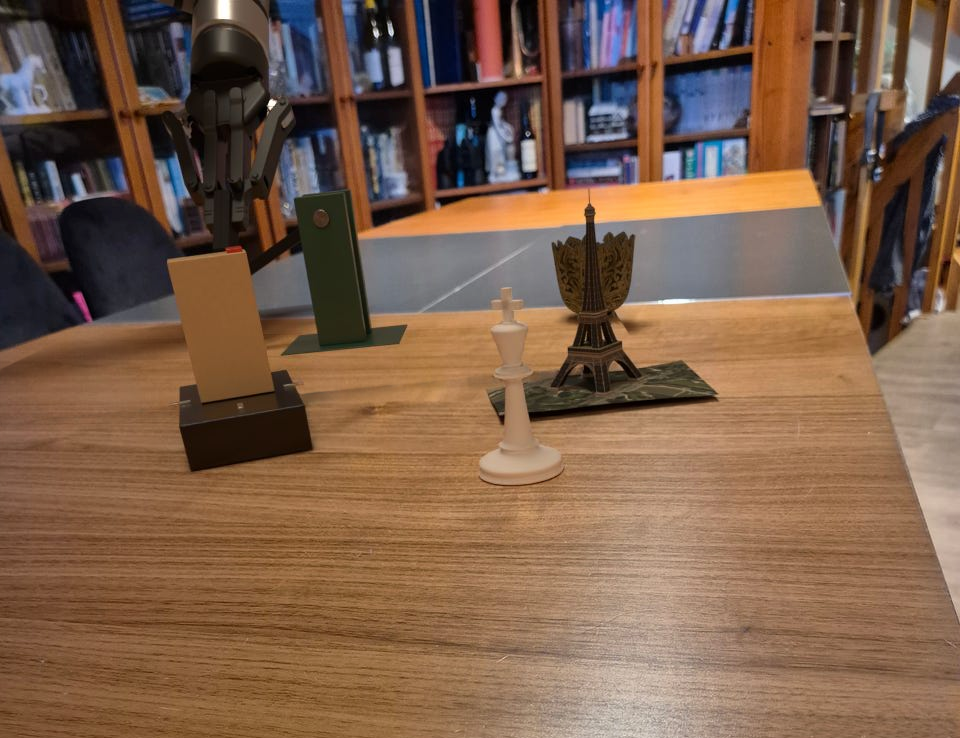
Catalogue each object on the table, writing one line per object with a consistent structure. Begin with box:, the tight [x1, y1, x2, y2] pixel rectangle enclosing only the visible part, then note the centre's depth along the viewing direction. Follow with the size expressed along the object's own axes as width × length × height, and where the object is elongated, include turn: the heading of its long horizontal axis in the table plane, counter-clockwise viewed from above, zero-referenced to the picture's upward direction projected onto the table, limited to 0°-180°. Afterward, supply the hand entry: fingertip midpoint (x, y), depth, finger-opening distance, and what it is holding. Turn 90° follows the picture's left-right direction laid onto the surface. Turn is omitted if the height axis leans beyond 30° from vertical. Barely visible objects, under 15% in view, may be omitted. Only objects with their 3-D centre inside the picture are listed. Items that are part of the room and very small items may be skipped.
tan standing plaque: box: [166, 245, 274, 403], centre depth 62 cm, size 5×2×9 cm, turn 106°
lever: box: [248, 227, 301, 277], centre depth 85 cm, size 13×8×2 cm, turn 89°
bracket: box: [280, 188, 408, 357], centre depth 86 cm, size 11×9×14 cm
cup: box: [551, 230, 636, 322], centre depth 85 cm, size 8×7×8 cm
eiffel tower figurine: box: [486, 187, 720, 417], centre depth 63 cm, size 15×10×13 cm
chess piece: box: [478, 286, 565, 486], centre depth 51 cm, size 5×5×10 cm
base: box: [168, 369, 314, 472], centre depth 65 cm, size 12×9×3 cm
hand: (225, 258), depth 86 cm, fingers closed
